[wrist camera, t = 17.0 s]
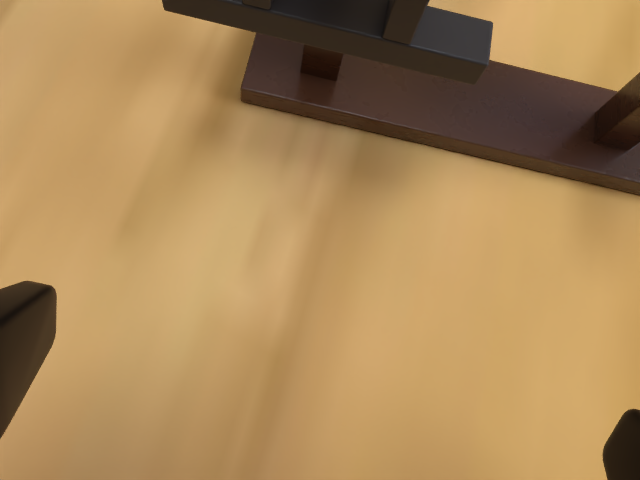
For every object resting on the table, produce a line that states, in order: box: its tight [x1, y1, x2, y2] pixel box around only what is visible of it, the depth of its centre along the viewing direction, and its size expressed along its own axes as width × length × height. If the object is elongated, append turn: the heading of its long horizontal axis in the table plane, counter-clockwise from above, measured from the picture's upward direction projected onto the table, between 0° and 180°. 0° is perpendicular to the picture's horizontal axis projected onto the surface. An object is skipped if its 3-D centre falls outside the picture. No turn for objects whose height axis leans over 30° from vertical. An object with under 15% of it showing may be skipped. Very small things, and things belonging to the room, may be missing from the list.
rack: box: [241, 33, 640, 195], centre depth 18 cm, size 8×19×14 cm, turn 79°
